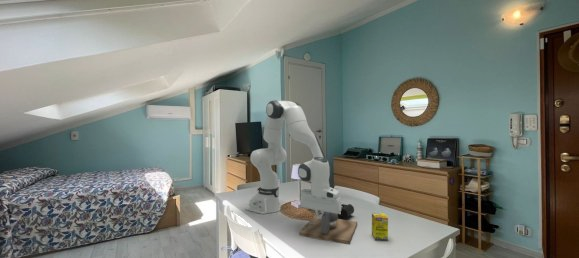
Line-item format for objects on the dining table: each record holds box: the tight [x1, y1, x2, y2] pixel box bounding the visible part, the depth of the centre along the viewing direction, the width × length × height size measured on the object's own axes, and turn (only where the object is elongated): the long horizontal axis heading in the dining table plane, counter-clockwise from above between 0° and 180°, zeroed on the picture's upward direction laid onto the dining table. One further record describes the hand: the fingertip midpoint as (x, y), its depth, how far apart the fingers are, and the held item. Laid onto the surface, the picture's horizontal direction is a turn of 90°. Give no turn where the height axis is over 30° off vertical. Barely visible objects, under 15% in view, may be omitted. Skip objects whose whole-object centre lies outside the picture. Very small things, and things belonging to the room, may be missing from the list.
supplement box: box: [371, 212, 389, 242], centre depth 116 cm, size 6×6×11 cm
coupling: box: [322, 212, 339, 234], centre depth 123 cm, size 15×8×8 cm, turn 157°
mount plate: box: [298, 215, 358, 245], centre depth 126 cm, size 24×24×6 cm
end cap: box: [338, 203, 355, 220], centre depth 143 cm, size 10×7×7 cm
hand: (320, 219), depth 120 cm, fingers closed
